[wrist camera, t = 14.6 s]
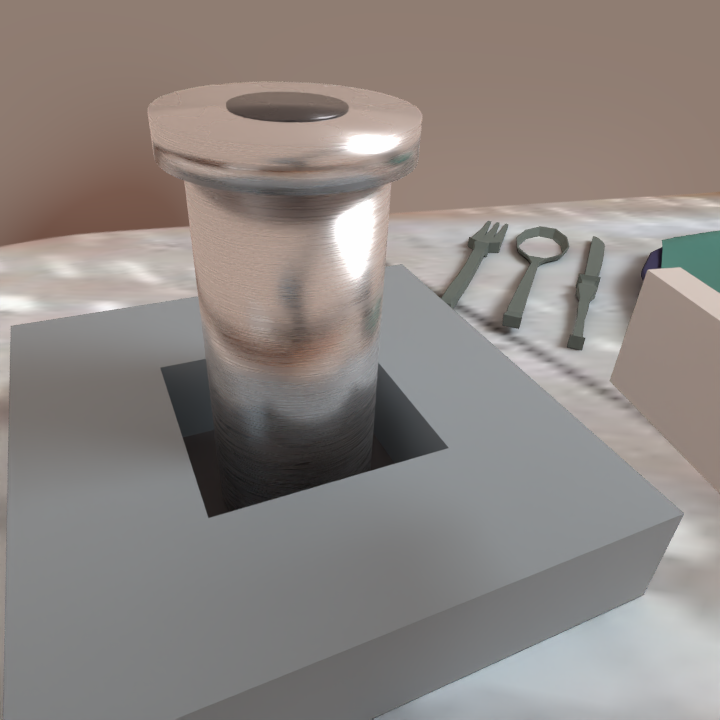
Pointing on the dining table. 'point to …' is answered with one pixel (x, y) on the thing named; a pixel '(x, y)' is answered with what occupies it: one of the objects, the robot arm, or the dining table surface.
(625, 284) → the dining table surface
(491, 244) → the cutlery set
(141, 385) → the jig
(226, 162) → the bushing
